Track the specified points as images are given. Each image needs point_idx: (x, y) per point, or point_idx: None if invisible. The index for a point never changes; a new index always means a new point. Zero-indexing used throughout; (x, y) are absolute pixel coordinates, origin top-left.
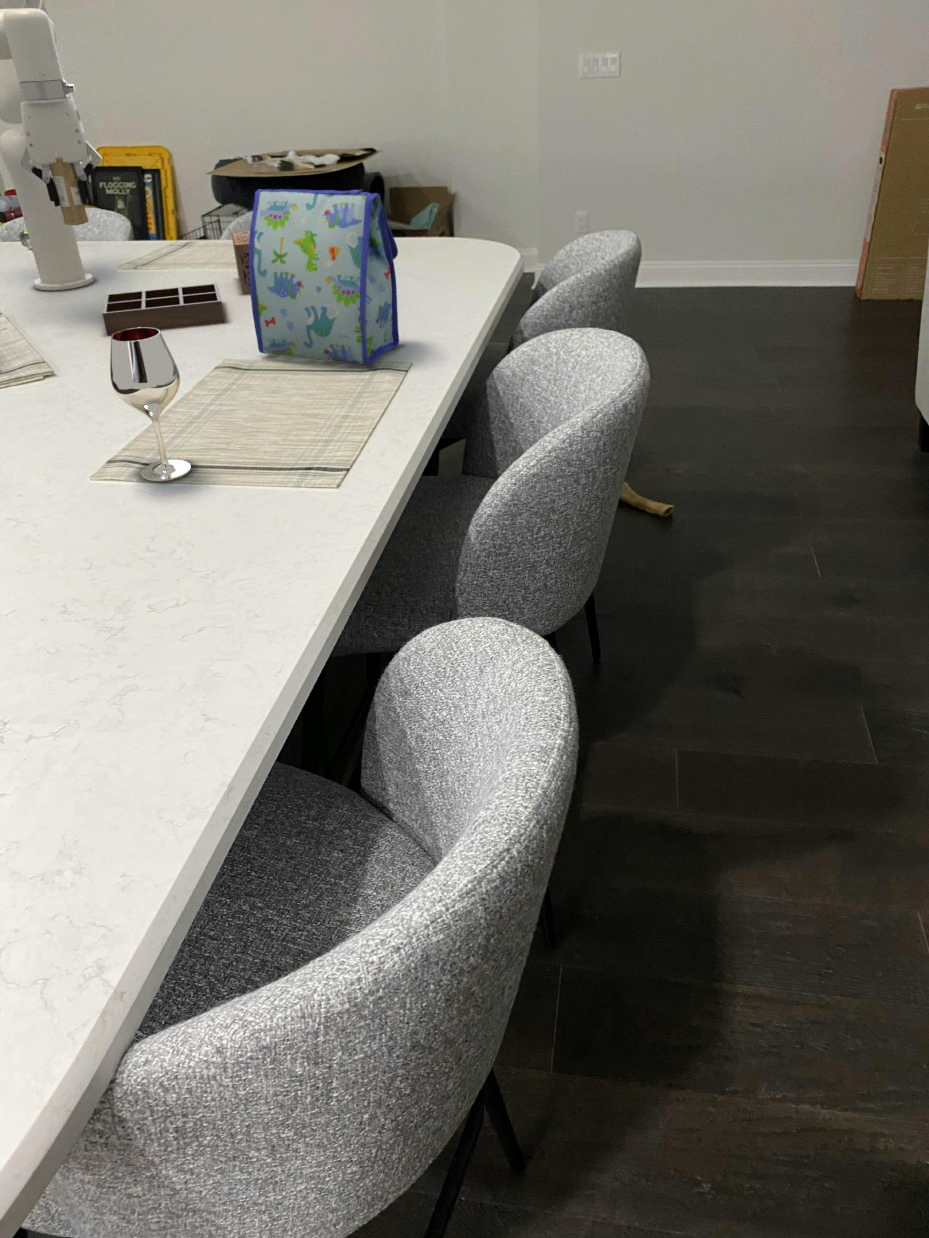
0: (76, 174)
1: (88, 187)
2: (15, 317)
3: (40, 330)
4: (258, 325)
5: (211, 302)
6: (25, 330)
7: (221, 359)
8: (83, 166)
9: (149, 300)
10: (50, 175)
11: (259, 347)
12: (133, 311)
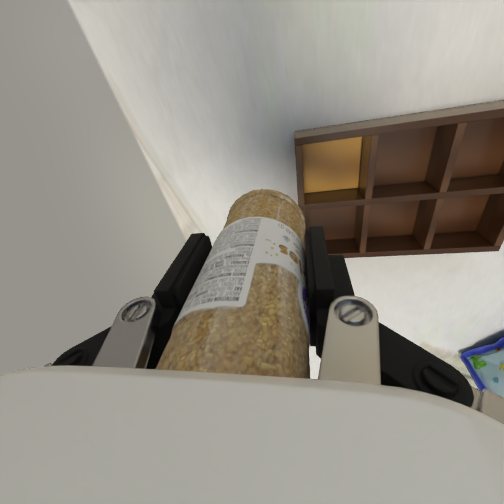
0: (307, 345)
1: (349, 280)
2: (123, 96)
3: (201, 193)
4: (479, 383)
5: (479, 251)
6: (179, 186)
7: (418, 342)
8: (378, 375)
9: (378, 203)
10: (154, 331)
11: (463, 361)
12: (346, 257)
